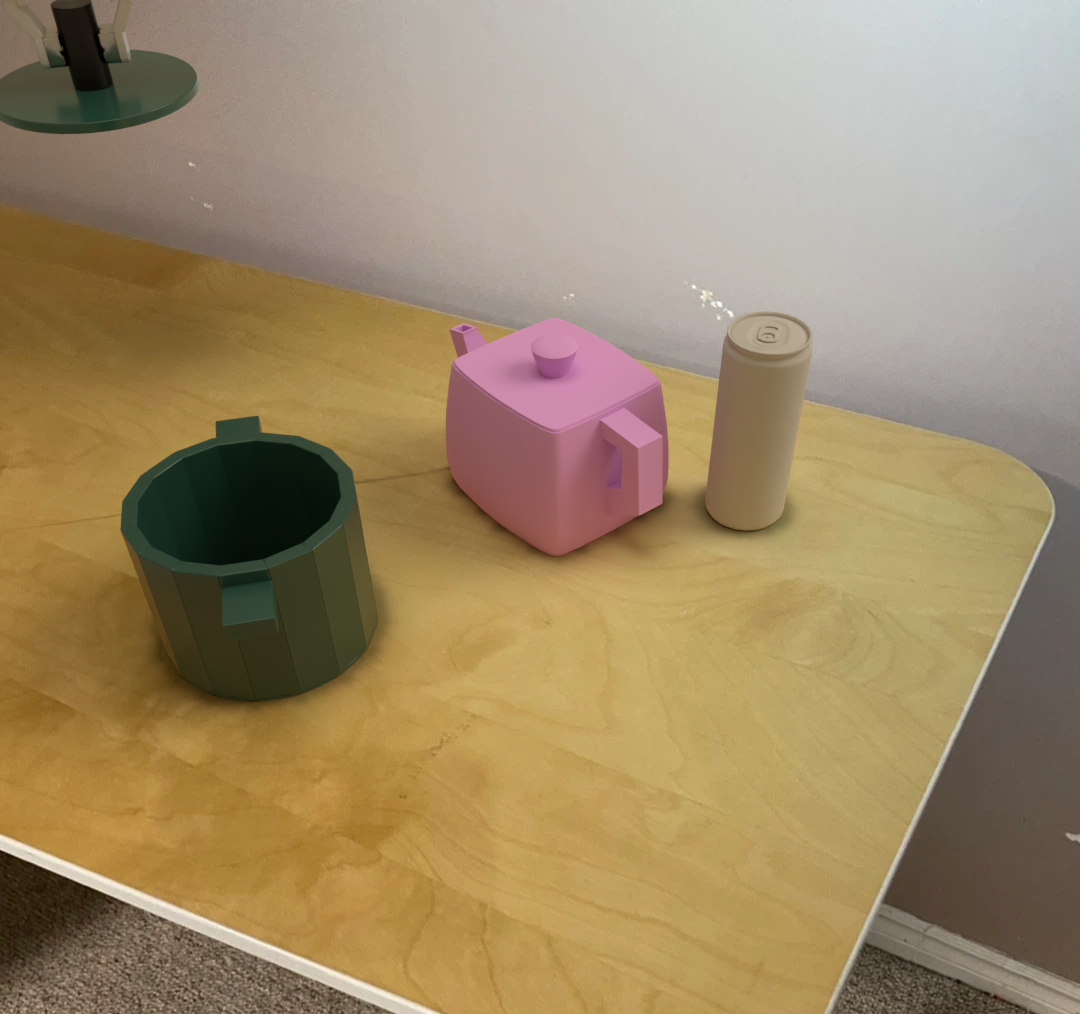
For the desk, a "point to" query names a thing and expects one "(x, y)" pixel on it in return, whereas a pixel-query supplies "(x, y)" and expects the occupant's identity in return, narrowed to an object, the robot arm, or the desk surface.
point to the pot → (253, 562)
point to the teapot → (555, 433)
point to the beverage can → (757, 418)
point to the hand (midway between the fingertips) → (87, 62)
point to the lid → (93, 83)
